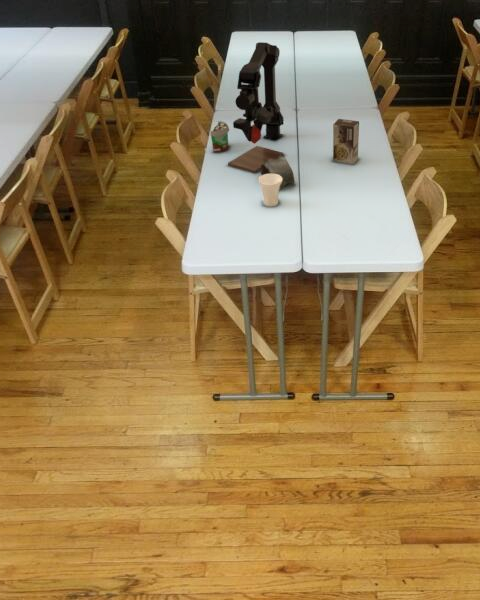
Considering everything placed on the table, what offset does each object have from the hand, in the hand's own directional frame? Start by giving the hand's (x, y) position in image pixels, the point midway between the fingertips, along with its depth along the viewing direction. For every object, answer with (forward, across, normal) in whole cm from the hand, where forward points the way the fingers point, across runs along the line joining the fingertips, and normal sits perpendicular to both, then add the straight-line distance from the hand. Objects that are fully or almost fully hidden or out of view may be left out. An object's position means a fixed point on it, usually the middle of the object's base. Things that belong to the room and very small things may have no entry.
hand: (254, 138), depth 256 cm
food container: (+10, +3, +20) cm, 22 cm away
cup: (+10, -26, -27) cm, 39 cm away
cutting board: (+10, +1, 0) cm, 10 cm away
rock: (+10, -11, -19) cm, 24 cm away
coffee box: (+10, +20, -32) cm, 39 cm away
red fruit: (+2, 0, 0) cm, 2 cm away
